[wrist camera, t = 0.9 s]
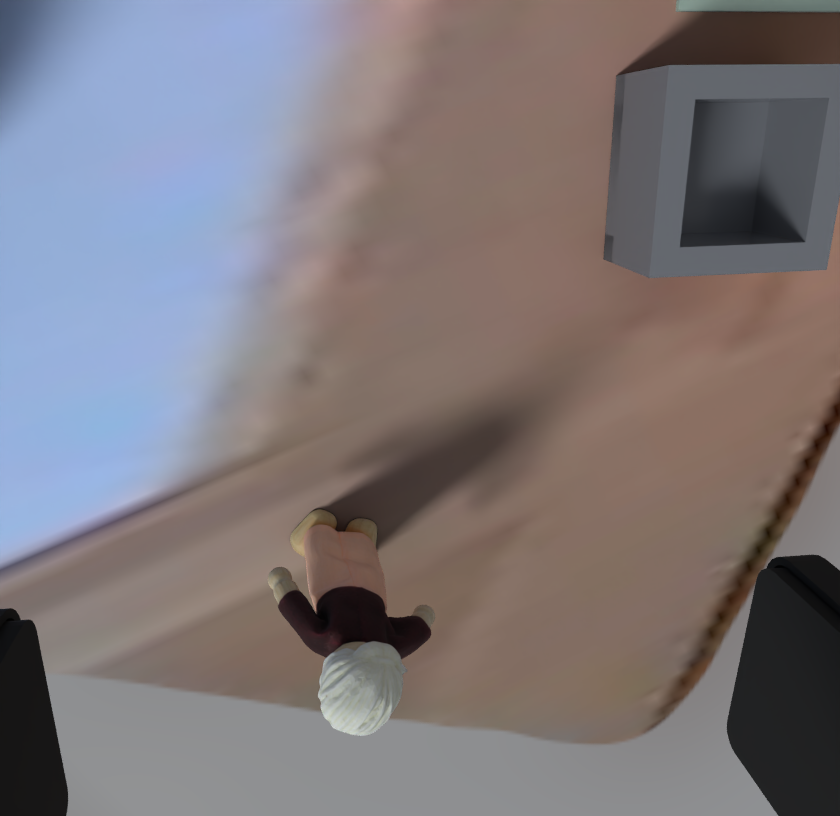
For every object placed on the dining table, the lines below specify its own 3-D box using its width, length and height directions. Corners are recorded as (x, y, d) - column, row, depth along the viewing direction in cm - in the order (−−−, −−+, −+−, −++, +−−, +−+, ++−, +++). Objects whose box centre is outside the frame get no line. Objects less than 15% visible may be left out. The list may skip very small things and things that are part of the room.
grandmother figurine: (267, 566, 38) (250, 759, 26) (274, 500, 37) (260, 672, 25) (412, 575, 39) (457, 761, 28) (424, 512, 38) (476, 679, 26)
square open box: (616, 75, 32) (668, 65, 27) (785, 74, 33) (863, 63, 28) (603, 259, 35) (649, 277, 30) (759, 252, 36) (826, 269, 31)
